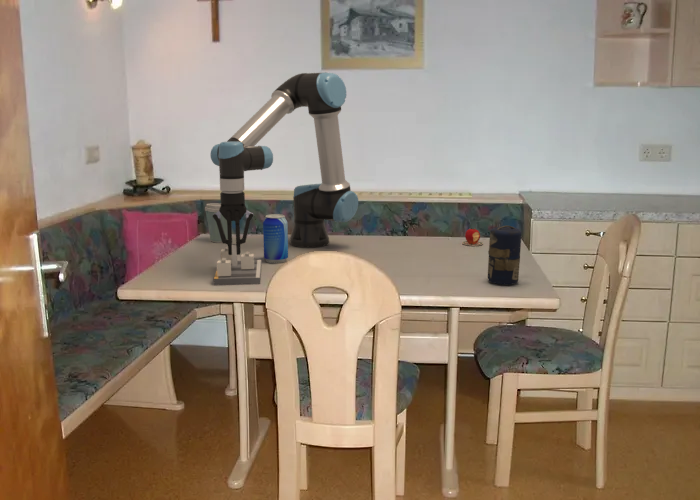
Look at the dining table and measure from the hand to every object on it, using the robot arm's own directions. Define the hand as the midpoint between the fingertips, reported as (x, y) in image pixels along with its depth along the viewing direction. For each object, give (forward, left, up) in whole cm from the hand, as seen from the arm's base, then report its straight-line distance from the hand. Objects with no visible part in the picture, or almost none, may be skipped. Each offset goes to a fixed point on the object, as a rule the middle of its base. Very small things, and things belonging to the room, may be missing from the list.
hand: (234, 264), depth 222 cm
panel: (-1, 0, -4) cm, 4 cm away
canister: (-83, +17, -4) cm, 85 cm away
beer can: (-13, -18, -4) cm, 23 cm away
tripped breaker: (-4, 0, -1) cm, 4 cm away
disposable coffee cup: (+9, -53, -4) cm, 54 cm away
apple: (-89, -38, -4) cm, 97 cm away
